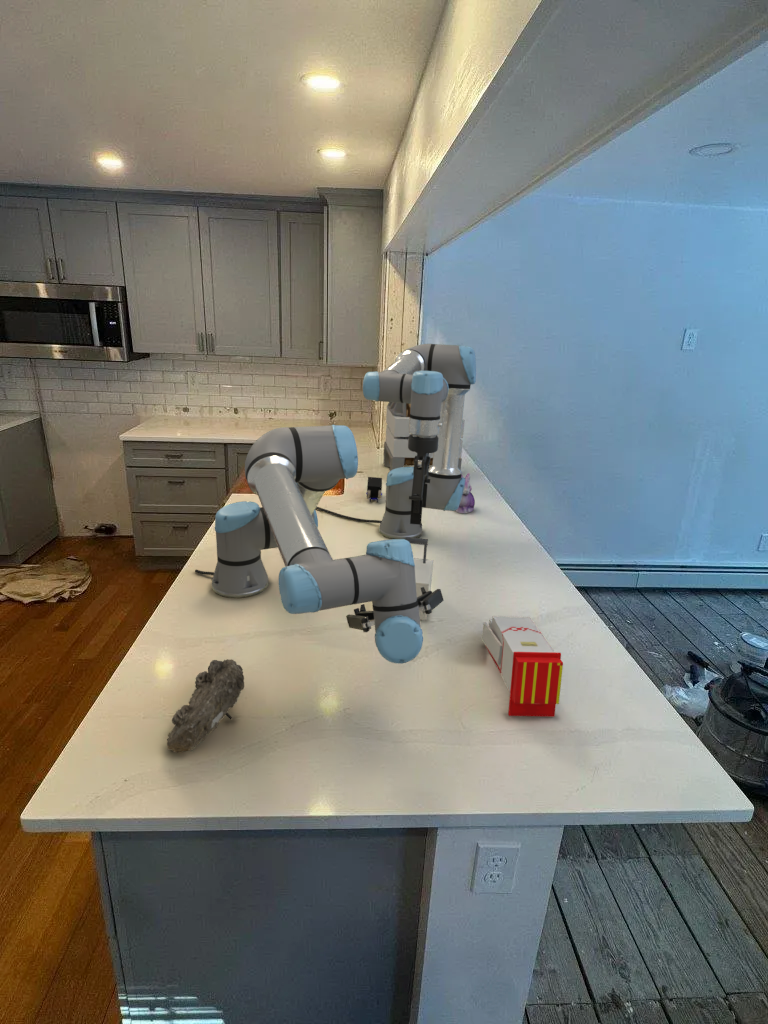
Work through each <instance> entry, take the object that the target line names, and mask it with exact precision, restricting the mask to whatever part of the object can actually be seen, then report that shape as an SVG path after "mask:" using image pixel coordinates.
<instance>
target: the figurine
mask: <svg viewBox="0 0 768 1024" xmlns="http://www.w3.org/2000/svg"><path fill="white" fill-rule="evenodd" d="M462 477H463V478H465V486H464V490H463V494H462V498H461V502H460V505H459V507H458V509H457V510H455V512H456V513H458V514H467V513H469V514H470V513H472V512H473V511H474V509H475V505H476V501H475V497H474V494H473V493H472V490H473V488H472V485H471V482H470V478H471V473H470V472H467V474H466V475H465V476H463V474H462V476H461V478H462Z"/></svg>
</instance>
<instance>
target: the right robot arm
mask: <svg viewBox="0 0 768 1024" xmlns="http://www.w3.org/2000/svg"><path fill="white" fill-rule="evenodd" d="M476 360H477V359H476V352H475V350H474V348H473V347H471V346H467V345H461V344H443V343H442V344H441V343H439V344H438V343H421V344H417V345H413V346H411V347H408V348H406V349H404V350H403V351H400V353H399V354H397V356H396V357H395V360H394V362H392V363H391V364H390V365H389V366H387V367H386V368H384V369H383V370H382V371H377V370H376V371H367V372H366V373H365V375H364V377H363V381H362V394H363V397H364V398H365V400H367V401H373V402H382V403H383V402H385V403H389V402H397V403H408V404H411V408H410V417H409V433H410V435H409V439H408V449H409V450H410V451H412V452H416V453H417V456H415V458H414V462H413V463H414V466H404V467H401V468H396V469H393V470H391V471H390V470H389V472H388V473H387V475H386V482H385V504H384V505H385V507H384V508H385V509H384V513H383V515H382V519H381V520H379V519H365V518H358V517H354V516H353V517H352V516H348V515H344V514H340V513H337V512H335V511H332V510H328V509H325V508H323V507H321V506H320V507H319V506H317V507H316V508H315V510H318V511H320V512H324V513H327V514H330V515H333V516H336V517H339V518H342V519H346V520H350V521H354V522H361V523H367V524H369V523H371V524H379V526H378V533H379V534H380V535H381V536H382V537H385V538H387V539H389V540H391V539H405V538H406V537H412V538H421V536H422V535H423V523H422V517H423V509H430V510H431V509H432V510H440V511H443V512H445V511H447V512H456V510H457V509H458V507H459V505H460V502H461V498H462V494H463V490H464V486H465V477H464V476H463V477H464V478H463V477H462V478H461V476H462V475H463V474H462V473H463V472H462V469H461V470H460V469H459V468H458V460H459V450H460V439H461V440H462V438H461V429H462V419H464V408H465V397H466V395H467V393H468V392H470V390H471V385H475V384H476V381H477V362H476ZM429 453H433V463H432V465H430V466H429V463H430V457H429Z"/></svg>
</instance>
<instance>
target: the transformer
mask: <svg viewBox="0 0 768 1024" xmlns="http://www.w3.org/2000/svg"><path fill="white" fill-rule="evenodd" d="M387 403H388V404H387V405H386V413H385V414H386V415H385V423H386V428H385V438H384V442H383V466H384V467H388V468H389V472H390V471H391V470H393V469H396V468H401V467H405V466H406V467H414V463H413V462H414V458H415V456H417V453H416V452H412V451H410V450H409V449H408V439H409V435H410V433H409V417H410V408H411V404H408V403H397V402H387ZM464 429H465V419H464V418H463V419H462V429H461V439H460V450H459V460H458V468H459V469H460V470H461V471H462V461H463V460H462V453H463V442H464V441H463V440H462V439H463V438H464V431H465V430H464ZM429 457H430V463H429V467H431V466H432V463H433V453H429Z"/></svg>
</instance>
